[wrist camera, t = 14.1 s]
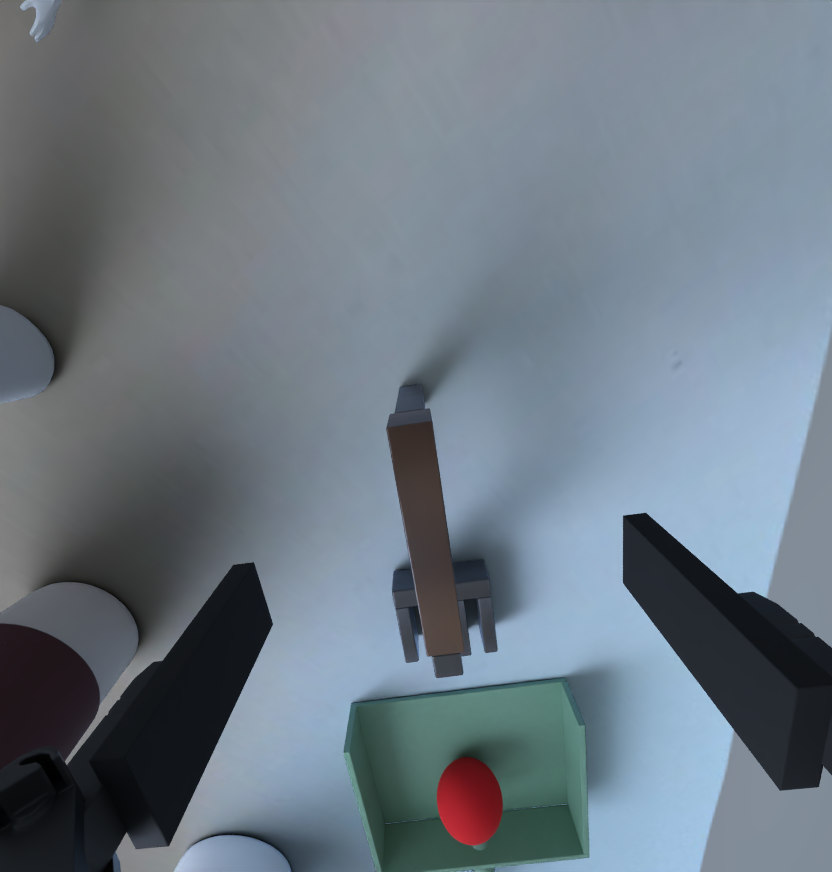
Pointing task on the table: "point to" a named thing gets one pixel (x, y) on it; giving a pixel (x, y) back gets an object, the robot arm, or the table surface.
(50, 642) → the coffee cup
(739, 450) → the table surface
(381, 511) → the table surface
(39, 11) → the woman figurine
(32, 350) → the beverage can
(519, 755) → the green dustpan
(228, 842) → the fruit juice
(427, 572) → the fork
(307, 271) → the table surface
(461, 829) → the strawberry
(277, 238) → the table surface
